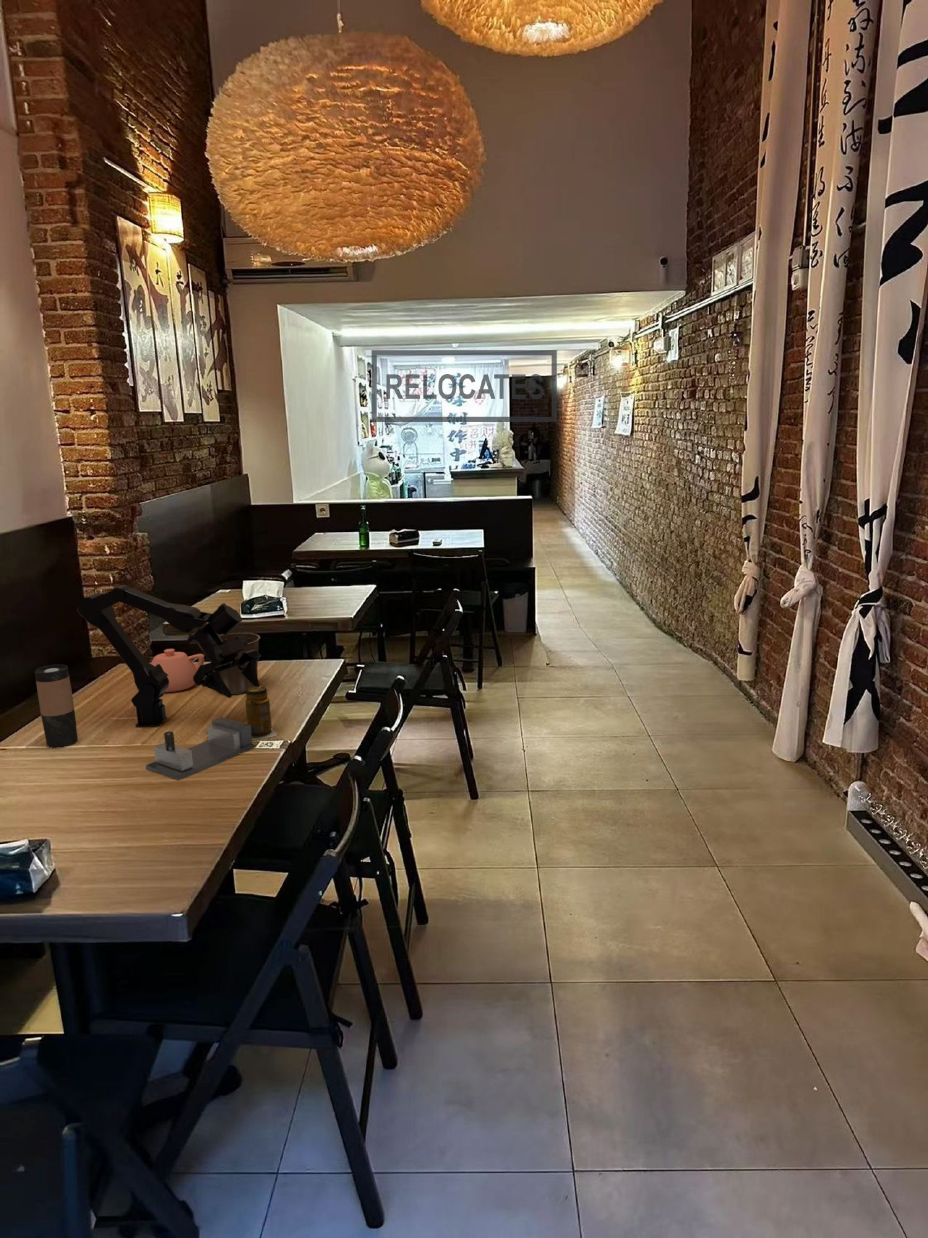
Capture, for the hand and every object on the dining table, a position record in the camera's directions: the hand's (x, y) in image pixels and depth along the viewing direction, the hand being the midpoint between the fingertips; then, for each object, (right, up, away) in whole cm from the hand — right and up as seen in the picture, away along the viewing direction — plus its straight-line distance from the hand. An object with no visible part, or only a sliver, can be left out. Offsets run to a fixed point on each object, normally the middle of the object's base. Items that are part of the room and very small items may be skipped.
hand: (244, 692), depth 203 cm
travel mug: (-46, -13, -3) cm, 48 cm away
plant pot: (-13, -3, +37) cm, 39 cm away
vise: (-6, -15, -15) cm, 22 cm away
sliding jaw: (-10, -15, -22) cm, 28 cm away
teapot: (-35, -3, +41) cm, 54 cm away
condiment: (+4, -11, 0) cm, 12 cm away
